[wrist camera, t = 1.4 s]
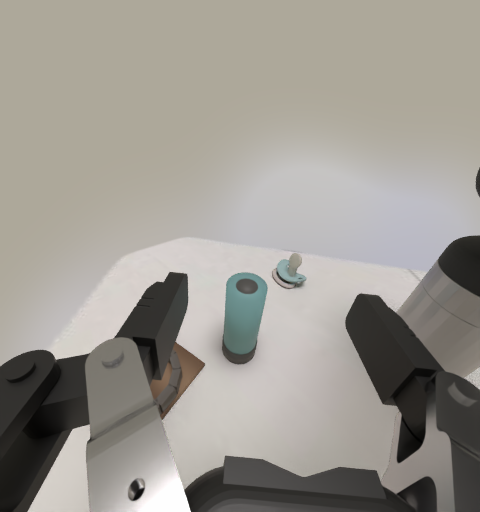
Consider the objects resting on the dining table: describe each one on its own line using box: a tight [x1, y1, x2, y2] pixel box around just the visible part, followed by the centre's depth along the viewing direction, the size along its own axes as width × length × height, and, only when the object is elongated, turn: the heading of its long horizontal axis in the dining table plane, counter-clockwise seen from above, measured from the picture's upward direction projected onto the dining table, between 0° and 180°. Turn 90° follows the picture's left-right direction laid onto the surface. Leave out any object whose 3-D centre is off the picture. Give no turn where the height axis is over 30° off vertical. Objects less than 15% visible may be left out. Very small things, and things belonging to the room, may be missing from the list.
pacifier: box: [272, 253, 306, 288], centre depth 45 cm, size 7×6×6 cm
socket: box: [150, 342, 205, 420], centre depth 26 cm, size 12×9×3 cm
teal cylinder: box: [222, 273, 267, 364], centre depth 28 cm, size 5×5×13 cm
